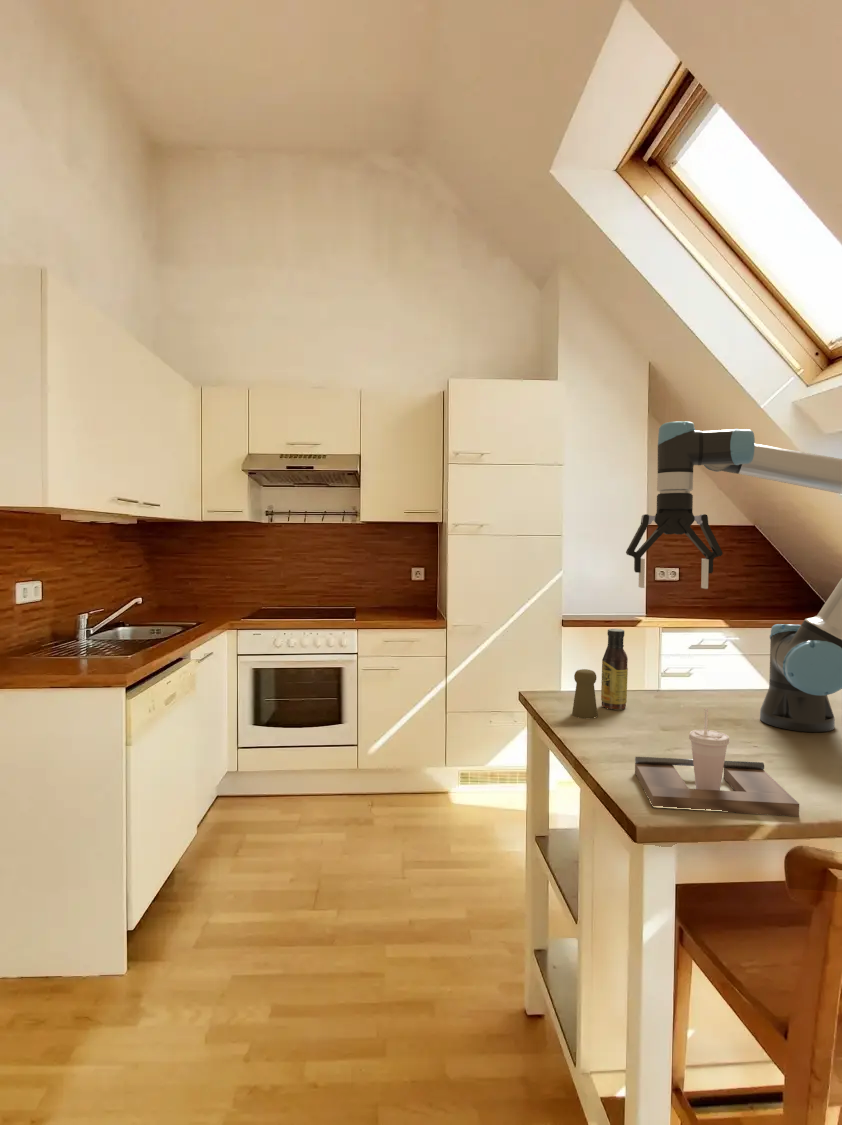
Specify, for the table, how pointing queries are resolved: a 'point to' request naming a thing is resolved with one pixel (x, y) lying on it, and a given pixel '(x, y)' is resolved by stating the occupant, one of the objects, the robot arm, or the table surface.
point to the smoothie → (708, 756)
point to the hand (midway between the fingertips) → (672, 588)
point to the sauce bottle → (614, 672)
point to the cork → (585, 694)
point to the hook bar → (690, 763)
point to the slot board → (718, 791)
